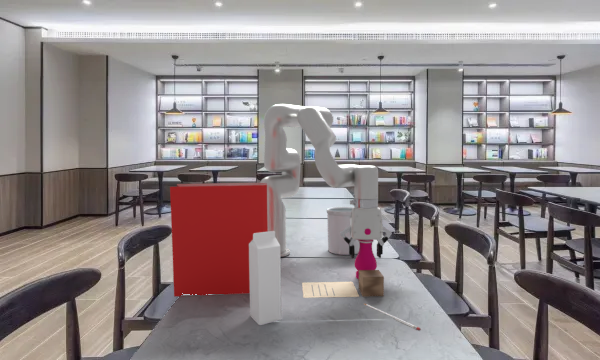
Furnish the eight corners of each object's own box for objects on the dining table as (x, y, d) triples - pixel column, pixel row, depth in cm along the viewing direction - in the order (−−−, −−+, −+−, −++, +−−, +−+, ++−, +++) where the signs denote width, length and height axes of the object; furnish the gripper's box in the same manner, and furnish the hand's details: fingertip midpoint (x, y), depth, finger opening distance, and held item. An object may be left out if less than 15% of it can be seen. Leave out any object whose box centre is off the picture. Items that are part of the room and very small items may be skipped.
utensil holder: (327, 245, 164) (327, 205, 163) (362, 246, 162) (362, 206, 161) (325, 255, 150) (325, 211, 148) (363, 256, 148) (363, 212, 146)
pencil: (418, 331, 88) (418, 328, 88) (360, 305, 103) (360, 302, 103) (420, 330, 88) (420, 327, 88) (363, 304, 103) (363, 301, 103)
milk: (281, 320, 93) (281, 233, 91) (258, 326, 90) (257, 236, 88) (271, 311, 99) (270, 228, 97) (249, 316, 96) (248, 231, 94)
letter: (303, 298, 107) (303, 297, 107) (301, 283, 119) (301, 282, 119) (359, 297, 107) (359, 296, 107) (352, 282, 119) (352, 281, 119)
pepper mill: (352, 274, 127) (352, 215, 125) (373, 273, 127) (373, 215, 125) (357, 282, 119) (357, 219, 118) (379, 281, 120) (380, 219, 118)
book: (174, 296, 109) (170, 186, 106) (180, 286, 117) (176, 184, 114) (268, 292, 111) (266, 185, 109) (268, 282, 119) (266, 182, 116)
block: (362, 297, 107) (362, 277, 107) (358, 289, 113) (358, 270, 113) (383, 297, 107) (383, 276, 107) (378, 289, 113) (378, 269, 113)
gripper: (340, 205, 117) (340, 260, 119) (396, 205, 118) (395, 259, 119) (337, 202, 125) (337, 254, 126) (389, 201, 125) (389, 253, 127)
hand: (365, 256), depth 123 cm, fingers open, 8 cm apart
